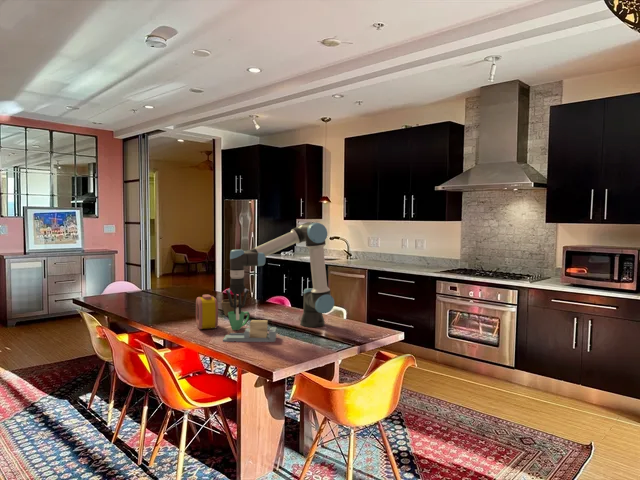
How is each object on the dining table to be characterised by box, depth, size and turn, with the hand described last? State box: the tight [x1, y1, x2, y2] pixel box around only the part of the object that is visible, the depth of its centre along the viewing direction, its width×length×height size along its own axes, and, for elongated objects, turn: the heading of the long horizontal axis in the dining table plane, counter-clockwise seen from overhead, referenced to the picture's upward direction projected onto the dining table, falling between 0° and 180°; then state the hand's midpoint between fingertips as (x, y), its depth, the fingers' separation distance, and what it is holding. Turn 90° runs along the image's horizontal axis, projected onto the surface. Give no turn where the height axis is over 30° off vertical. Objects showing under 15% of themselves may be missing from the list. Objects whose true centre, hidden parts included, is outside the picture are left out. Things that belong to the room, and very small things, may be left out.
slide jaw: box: [243, 327, 250, 338], centre depth 251 cm, size 9×3×4 cm, turn 1°
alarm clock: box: [195, 294, 219, 330], centre depth 275 cm, size 18×11×19 cm, turn 22°
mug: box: [227, 310, 251, 331], centre depth 274 cm, size 15×10×10 cm
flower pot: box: [221, 298, 239, 317], centre depth 310 cm, size 12×11×10 cm
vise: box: [222, 326, 277, 343], centre depth 251 cm, size 10×28×6 cm, turn 91°
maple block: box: [249, 319, 269, 338], centre depth 251 cm, size 5×9×9 cm, turn 91°
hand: (237, 319), depth 254 cm, fingers closed
